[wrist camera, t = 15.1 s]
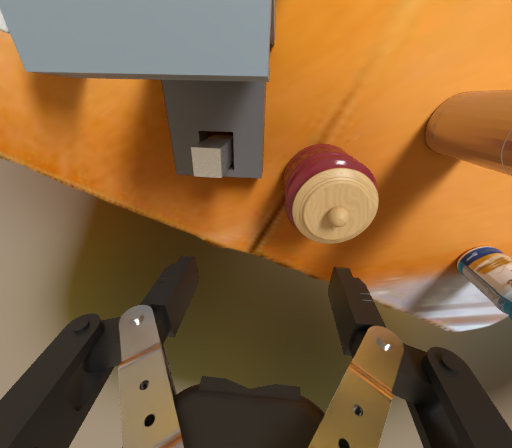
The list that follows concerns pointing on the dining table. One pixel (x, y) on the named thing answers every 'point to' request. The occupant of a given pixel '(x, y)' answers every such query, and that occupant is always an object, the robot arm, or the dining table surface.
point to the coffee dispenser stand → (144, 38)
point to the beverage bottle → (489, 275)
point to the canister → (329, 194)
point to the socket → (217, 121)
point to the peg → (213, 156)
